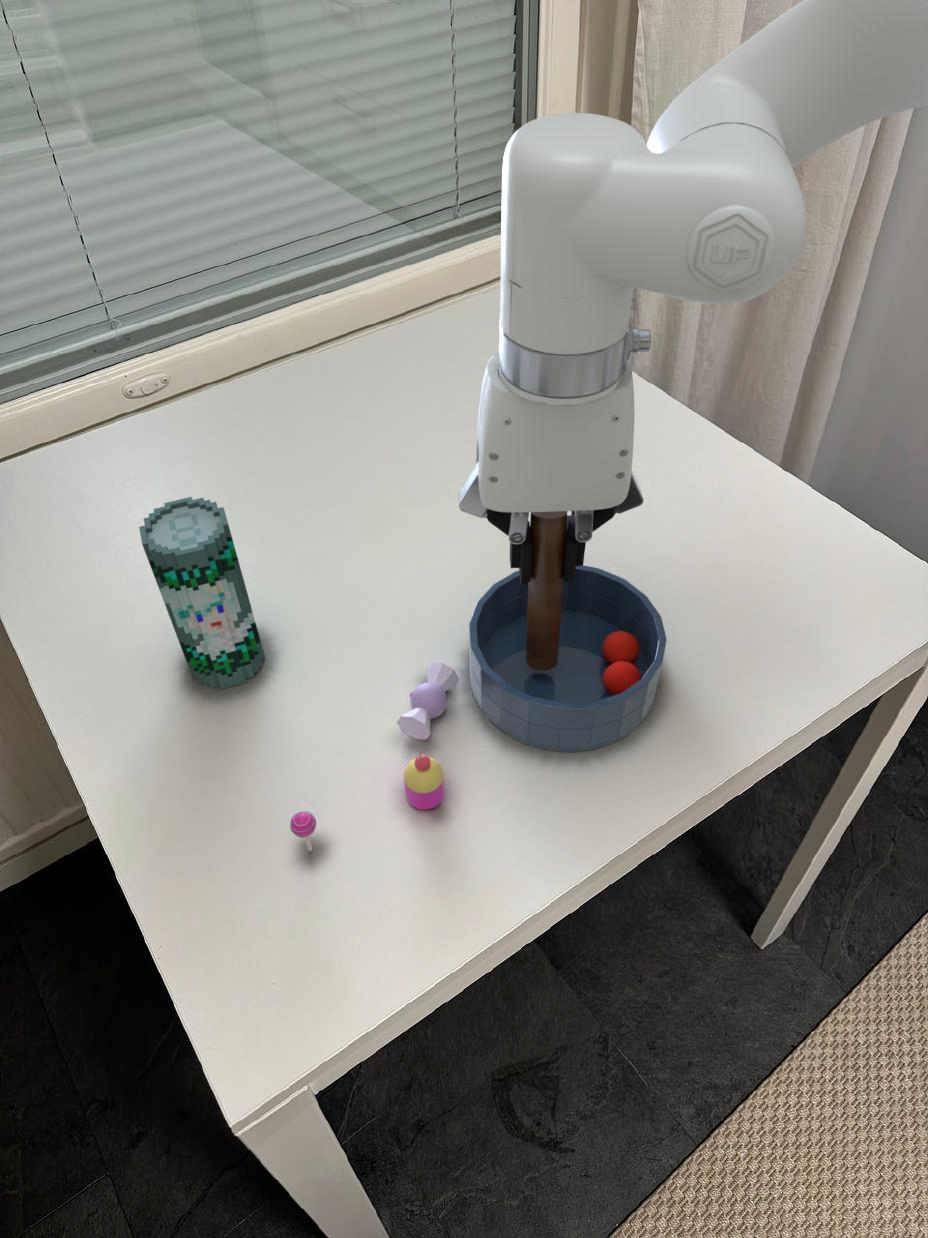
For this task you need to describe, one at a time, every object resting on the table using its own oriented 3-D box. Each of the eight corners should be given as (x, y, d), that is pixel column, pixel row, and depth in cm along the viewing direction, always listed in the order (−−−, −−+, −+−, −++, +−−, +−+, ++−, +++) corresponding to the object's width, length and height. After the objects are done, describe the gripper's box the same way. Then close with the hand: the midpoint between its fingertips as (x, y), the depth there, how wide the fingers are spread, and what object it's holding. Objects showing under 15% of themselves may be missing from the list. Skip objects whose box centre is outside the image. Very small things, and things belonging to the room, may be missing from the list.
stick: (559, 651, 73) (568, 501, 64) (556, 672, 71) (566, 520, 62) (527, 648, 73) (532, 499, 64) (524, 669, 71) (528, 518, 62)
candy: (402, 672, 74) (397, 622, 69) (492, 701, 72) (493, 652, 67) (293, 856, 63) (278, 811, 58) (395, 896, 61) (389, 853, 56)
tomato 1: (595, 630, 74) (628, 618, 72) (612, 653, 75) (645, 642, 74) (595, 656, 72) (629, 644, 70) (613, 679, 73) (646, 668, 72)
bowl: (638, 605, 79) (646, 560, 75) (671, 748, 68) (683, 704, 64) (466, 611, 79) (466, 566, 75) (474, 755, 68) (473, 712, 64)
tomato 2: (620, 657, 69) (601, 656, 72) (610, 695, 69) (592, 692, 71) (652, 667, 70) (632, 665, 73) (643, 704, 70) (623, 701, 72)
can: (196, 696, 73) (145, 563, 61) (185, 643, 76) (136, 509, 65) (270, 675, 74) (233, 541, 63) (256, 625, 78) (218, 490, 67)
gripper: (683, 315, 56) (644, 533, 70) (426, 322, 56) (437, 540, 69) (709, 381, 51) (661, 603, 65) (427, 389, 51) (438, 610, 64)
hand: (545, 569), depth 67 cm, fingers closed on stick, 2 cm apart
